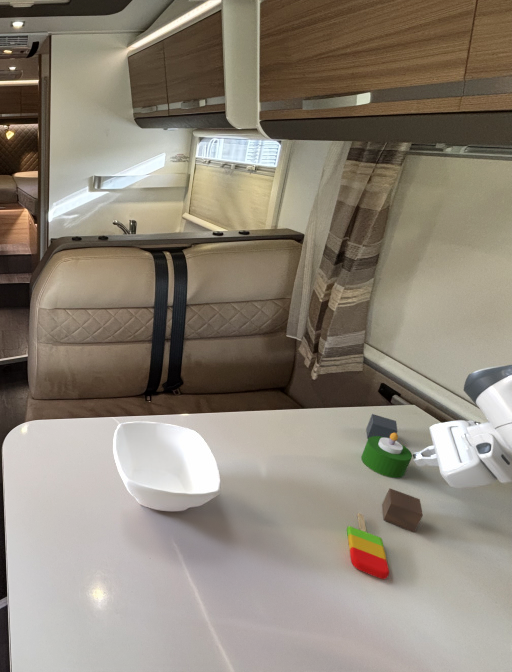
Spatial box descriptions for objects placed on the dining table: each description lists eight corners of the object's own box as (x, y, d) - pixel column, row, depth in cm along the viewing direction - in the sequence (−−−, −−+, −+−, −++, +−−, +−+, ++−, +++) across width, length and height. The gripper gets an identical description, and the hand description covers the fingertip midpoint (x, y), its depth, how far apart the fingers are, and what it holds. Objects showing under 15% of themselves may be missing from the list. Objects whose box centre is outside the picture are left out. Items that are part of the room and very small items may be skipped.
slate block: (389, 435, 116) (396, 420, 114) (391, 446, 112) (397, 431, 110) (366, 428, 119) (372, 413, 117) (367, 438, 115) (372, 423, 113)
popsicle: (351, 567, 82) (354, 561, 82) (343, 511, 94) (345, 505, 93) (388, 583, 80) (391, 576, 79) (375, 522, 91) (377, 516, 91)
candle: (370, 448, 111) (382, 417, 108) (410, 469, 105) (424, 437, 101) (354, 460, 108) (366, 428, 104) (395, 483, 101) (410, 449, 97)
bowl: (112, 526, 91) (117, 486, 87) (106, 452, 111) (110, 416, 107) (222, 542, 87) (233, 501, 83) (196, 462, 108) (203, 426, 103)
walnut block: (411, 516, 93) (419, 499, 91) (414, 532, 89) (423, 515, 87) (382, 504, 95) (389, 488, 94) (383, 520, 92) (390, 503, 90)
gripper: (470, 408, 100) (401, 425, 109) (491, 460, 85) (409, 474, 94) (490, 430, 99) (419, 446, 108) (515, 487, 84) (430, 499, 93)
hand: (414, 459), depth 101 cm, fingers closed, pressing on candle
